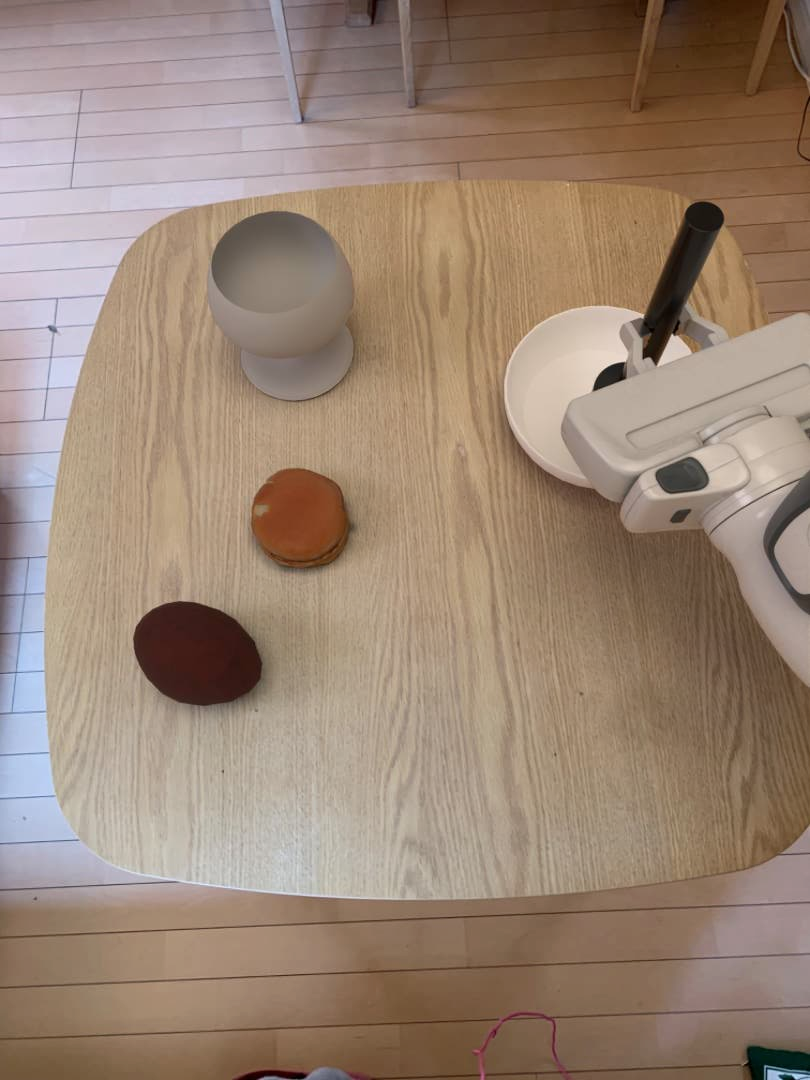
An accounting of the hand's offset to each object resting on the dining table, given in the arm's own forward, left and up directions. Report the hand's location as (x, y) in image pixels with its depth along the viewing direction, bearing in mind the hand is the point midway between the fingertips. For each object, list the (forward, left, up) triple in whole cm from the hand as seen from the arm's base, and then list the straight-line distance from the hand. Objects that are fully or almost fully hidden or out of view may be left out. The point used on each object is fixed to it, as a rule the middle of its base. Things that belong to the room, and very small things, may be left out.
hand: (651, 316), depth 63 cm
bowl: (+1, -4, -24) cm, 25 cm away
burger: (+24, +18, -24) cm, 39 cm away
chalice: (+33, 0, -24) cm, 41 cm away
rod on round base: (-1, +1, -13) cm, 13 cm away
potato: (+26, +34, -24) cm, 49 cm away
